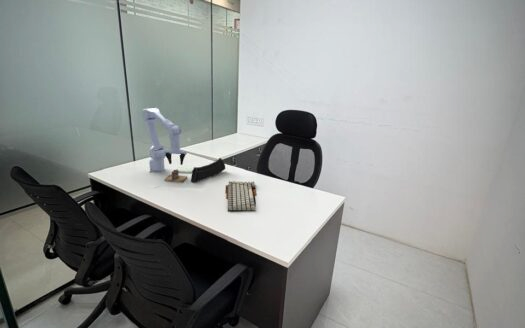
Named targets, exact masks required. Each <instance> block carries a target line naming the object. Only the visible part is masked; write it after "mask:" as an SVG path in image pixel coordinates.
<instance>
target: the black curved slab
mask: <svg viewBox="0 0 525 328" xmlns="http://www.w3.org/2000/svg"><path fill="white" fill-rule="evenodd" d="M193 168H194V169H193V171H192V173H191V177H190V182H192V183H197V182H200V181H203V180H206V179H209V178H210V177H211V178H213V177H215V176H217V175H218V174H221V173H222V172H223V171H224V170H226V164H225V163H224V160H223V159H222V158H221V157H219V158H218V159H217V160H215V161H213V162H211V163H209V164H206V165H202V166H199V167H196V166H194V167H193ZM220 172H221V173H220Z"/></svg>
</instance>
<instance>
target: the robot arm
mask: <svg viewBox="0 0 525 328" xmlns="http://www.w3.org/2000/svg"><path fill="white" fill-rule="evenodd" d="M141 112H142V113H141V115H142V116H141V117H142V119H143V122H144V123H145V126H146V129H147V133H148V135H149V136H148V137H149V140H150V143H151V144H150V145H151V147H149V149H148V150H149V157H150V159H149V163H148V164H149V172H150V173H153V172H163V171H165V170H166V168H165V159H166V158H167V161H168V164H169V165H172V155H179V159H180V164H179V165H180V166H182V165H183V164H184V160H185V157H186V155H187V153H188V152H187V151H188V150H181V149H180V148H181V145H180V135H181V133H182V130H181V127H180V126H179V125H176V124H174V123H173V122H172V121H171V120H170V119H168V118H165V117H164V116H163V114H162V113H161V110H159V108H158V107H153V108H143V109H142V111H141ZM157 120H158V121H159V122H160V123H161V125H162V127H163V128H164V129H165V130H166V131H167V134H168V138H169V144H170V145H169V146H170V149H165V147H164V145H161V143H160V139H159V137H158V133H157V129H156V126H155V121H157Z"/></svg>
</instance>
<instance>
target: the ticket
mask: <svg viewBox="0 0 525 328" xmlns="http://www.w3.org/2000/svg"><path fill="white" fill-rule="evenodd" d="M193 169H194V167H189V166H187V167H185V166H177V167H176V168H175V170H178V174H192V171H193Z"/></svg>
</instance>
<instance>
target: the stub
mask: <svg viewBox="0 0 525 328" xmlns="http://www.w3.org/2000/svg"><path fill="white" fill-rule="evenodd" d="M187 179H188V175H179V173H178V170H176V169H173V170H172V172H171V174H169V175H167V176H166V177H165V179H164V182H175V183H176V182H177V183H184V182H185V181H186V180H187Z"/></svg>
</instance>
